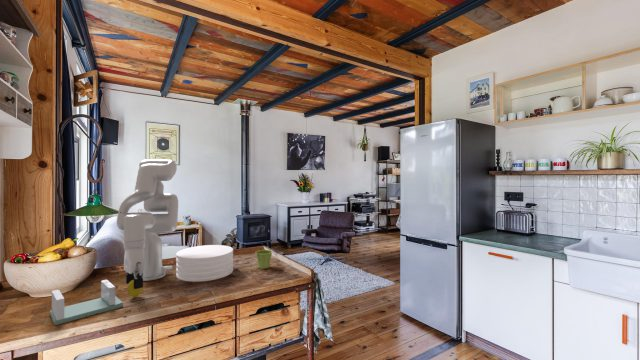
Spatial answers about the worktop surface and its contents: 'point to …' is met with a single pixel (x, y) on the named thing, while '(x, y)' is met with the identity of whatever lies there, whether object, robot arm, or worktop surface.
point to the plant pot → (263, 258)
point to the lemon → (133, 290)
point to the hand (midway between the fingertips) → (134, 285)
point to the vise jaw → (108, 292)
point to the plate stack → (204, 263)
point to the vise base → (78, 308)
